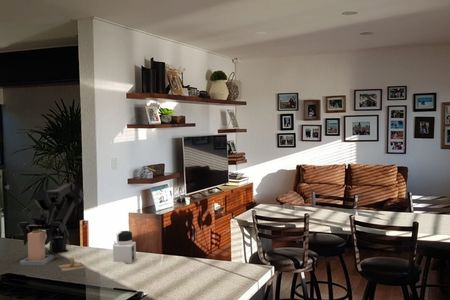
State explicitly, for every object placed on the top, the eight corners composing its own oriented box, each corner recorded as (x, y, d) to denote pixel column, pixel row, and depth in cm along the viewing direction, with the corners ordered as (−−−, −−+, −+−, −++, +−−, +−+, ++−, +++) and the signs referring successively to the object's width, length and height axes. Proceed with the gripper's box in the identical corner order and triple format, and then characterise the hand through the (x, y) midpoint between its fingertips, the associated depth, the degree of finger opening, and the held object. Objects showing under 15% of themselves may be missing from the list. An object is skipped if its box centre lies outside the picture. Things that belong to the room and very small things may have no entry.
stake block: (58, 267, 187) (58, 257, 187) (81, 264, 192) (80, 254, 192) (62, 273, 180) (62, 262, 179) (85, 269, 184) (85, 258, 184)
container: (136, 259, 199) (135, 229, 198) (131, 264, 191) (130, 233, 191) (119, 258, 200) (118, 229, 199) (113, 263, 192) (112, 233, 192)
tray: (31, 260, 199) (31, 255, 199) (53, 260, 199) (53, 255, 198) (19, 267, 189) (19, 261, 189) (42, 267, 189) (42, 261, 188)
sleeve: (34, 261, 197) (33, 231, 196) (45, 260, 196) (44, 231, 196) (28, 264, 192) (27, 233, 191) (39, 264, 191) (38, 233, 191)
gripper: (19, 203, 198) (5, 234, 187) (60, 203, 196) (49, 234, 186) (28, 218, 206) (16, 248, 195) (68, 218, 204) (58, 248, 194)
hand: (34, 244), depth 192 cm, fingers open, 9 cm apart
